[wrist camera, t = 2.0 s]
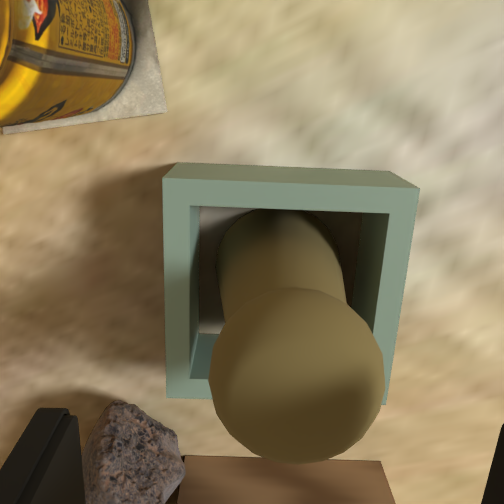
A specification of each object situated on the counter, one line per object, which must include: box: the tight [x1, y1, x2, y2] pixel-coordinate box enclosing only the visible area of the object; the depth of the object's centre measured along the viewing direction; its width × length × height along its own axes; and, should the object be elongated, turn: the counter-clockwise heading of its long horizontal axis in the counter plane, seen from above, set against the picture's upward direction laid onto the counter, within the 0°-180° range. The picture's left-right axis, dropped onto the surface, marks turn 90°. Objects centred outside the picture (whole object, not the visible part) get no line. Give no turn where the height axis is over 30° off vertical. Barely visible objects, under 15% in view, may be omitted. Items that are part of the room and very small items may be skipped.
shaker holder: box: [162, 162, 420, 405], centre depth 21 cm, size 10×10×4 cm
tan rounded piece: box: [208, 208, 385, 465], centre depth 18 cm, size 6×6×11 cm
